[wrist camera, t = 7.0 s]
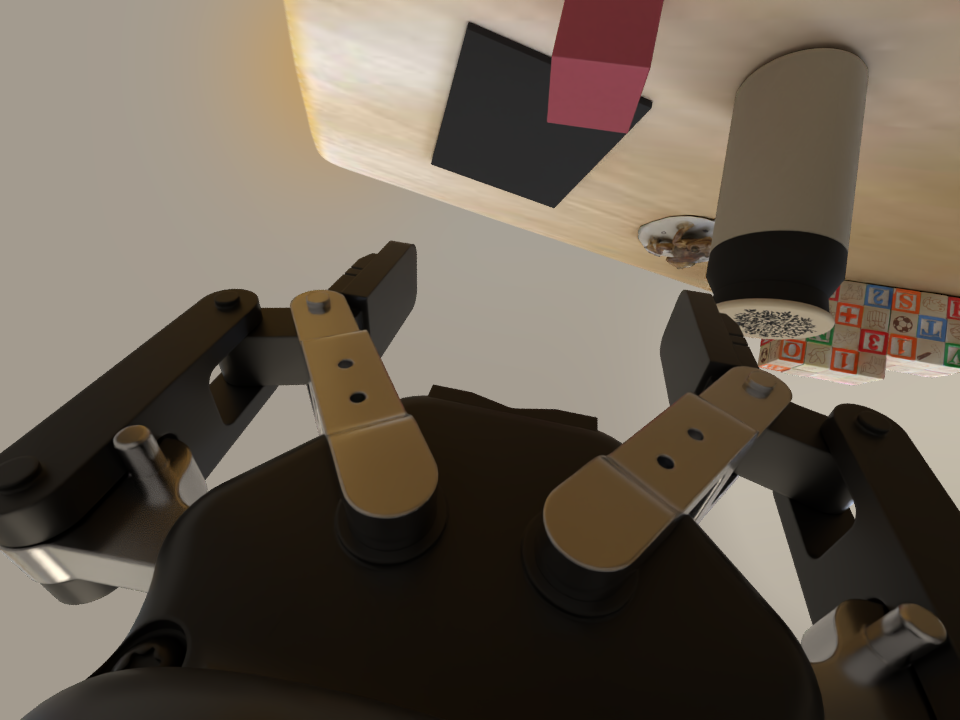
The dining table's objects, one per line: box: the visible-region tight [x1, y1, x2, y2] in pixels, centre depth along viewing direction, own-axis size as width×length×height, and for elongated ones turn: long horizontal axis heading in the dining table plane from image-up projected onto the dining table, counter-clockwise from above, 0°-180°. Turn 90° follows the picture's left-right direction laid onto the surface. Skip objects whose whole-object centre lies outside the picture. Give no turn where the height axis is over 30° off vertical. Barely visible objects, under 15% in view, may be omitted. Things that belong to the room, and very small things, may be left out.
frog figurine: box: [638, 216, 715, 269], centre depth 57 cm, size 12×12×4 cm
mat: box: [431, 22, 652, 208], centre depth 45 cm, size 20×16×1 cm
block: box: [547, 0, 664, 133], centre depth 27 cm, size 5×5×9 cm
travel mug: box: [706, 48, 868, 339], centre depth 31 cm, size 8×8×18 cm
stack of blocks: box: [758, 281, 960, 385], centre depth 59 cm, size 21×6×12 cm, turn 100°
